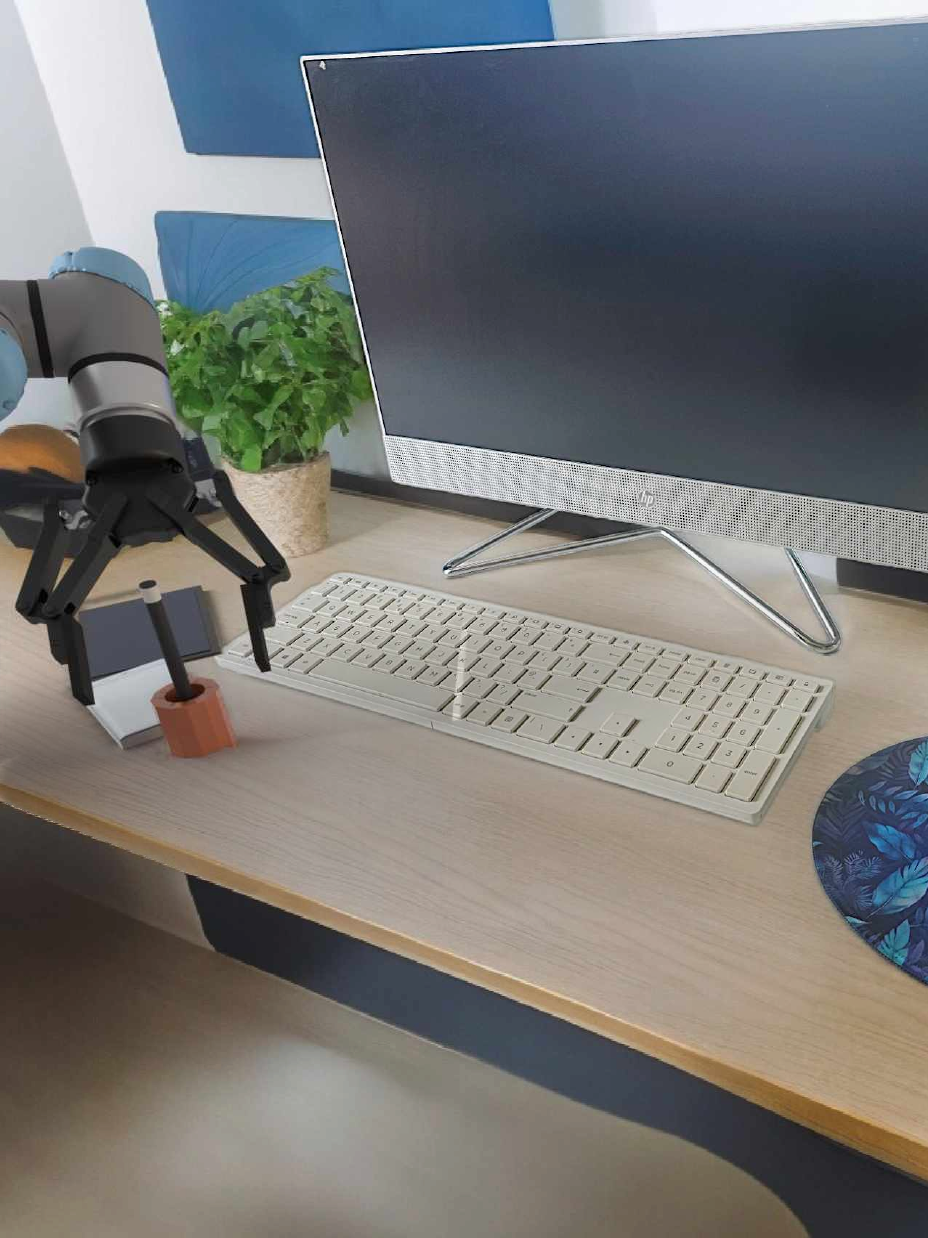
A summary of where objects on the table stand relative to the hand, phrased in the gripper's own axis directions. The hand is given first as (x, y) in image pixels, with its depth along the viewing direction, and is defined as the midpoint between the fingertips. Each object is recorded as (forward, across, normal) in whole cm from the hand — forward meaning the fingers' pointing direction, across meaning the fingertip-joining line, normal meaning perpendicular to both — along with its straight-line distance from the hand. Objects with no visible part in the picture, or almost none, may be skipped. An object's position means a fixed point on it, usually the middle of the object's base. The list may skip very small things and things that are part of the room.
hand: (175, 683), depth 92 cm
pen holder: (+4, 0, -7) cm, 8 cm away
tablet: (-15, +6, -26) cm, 31 cm away
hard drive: (-3, +5, -15) cm, 16 cm away
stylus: (+4, 0, -7) cm, 8 cm away
